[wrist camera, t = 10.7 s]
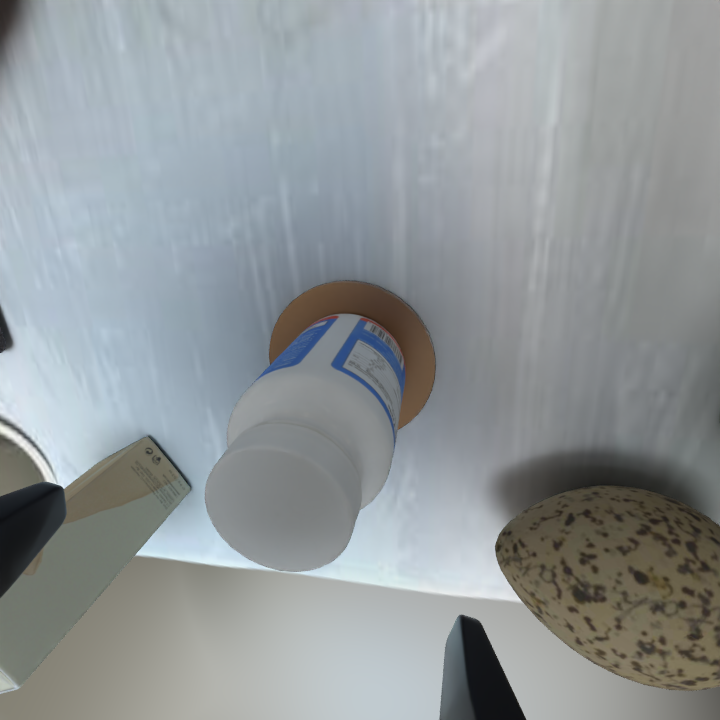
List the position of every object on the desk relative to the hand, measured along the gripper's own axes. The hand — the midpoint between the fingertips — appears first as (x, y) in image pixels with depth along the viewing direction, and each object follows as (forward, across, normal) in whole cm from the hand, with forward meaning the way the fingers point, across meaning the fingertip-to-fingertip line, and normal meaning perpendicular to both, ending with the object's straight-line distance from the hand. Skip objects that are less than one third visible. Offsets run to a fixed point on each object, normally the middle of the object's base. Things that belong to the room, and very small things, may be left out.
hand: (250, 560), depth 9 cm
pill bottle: (+12, 0, 0) cm, 12 cm away
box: (+12, +11, +11) cm, 20 cm away
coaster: (+12, 0, 0) cm, 12 cm away
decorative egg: (+8, -18, +4) cm, 20 cm away
